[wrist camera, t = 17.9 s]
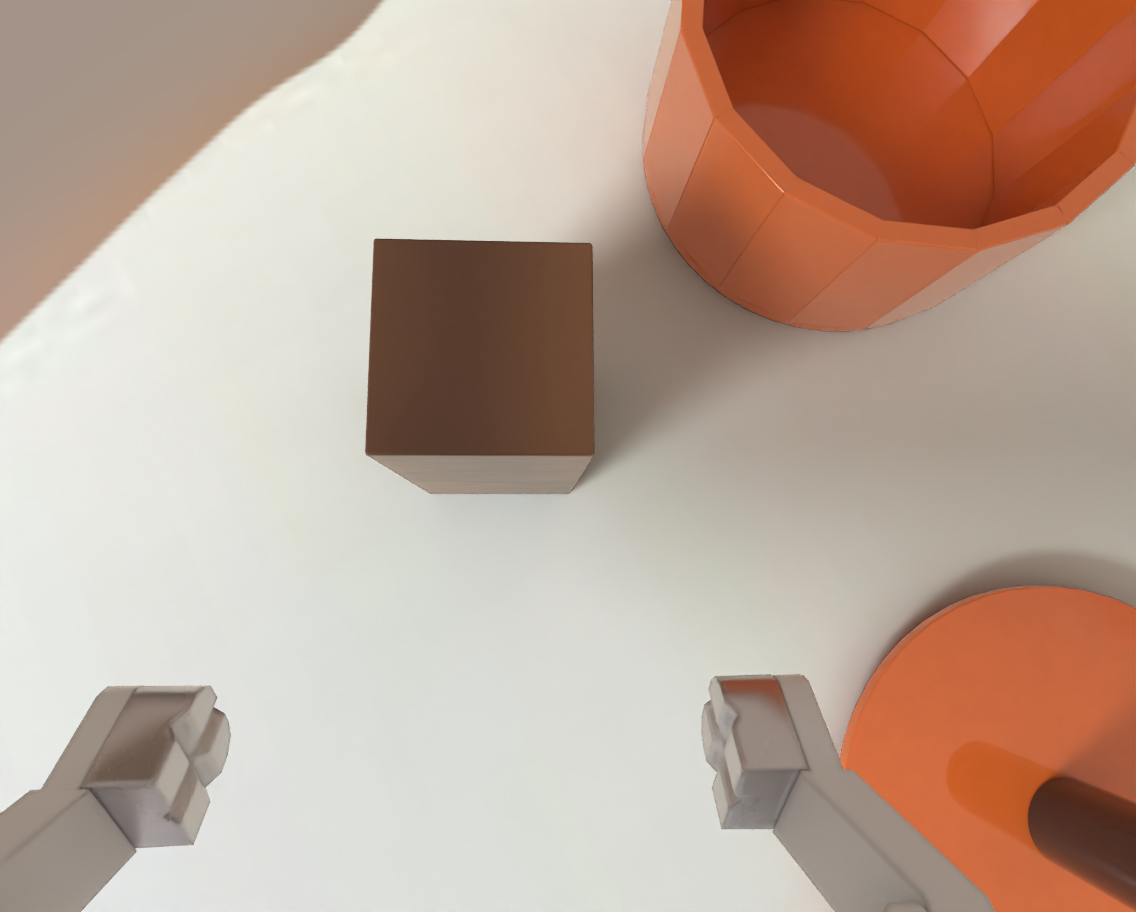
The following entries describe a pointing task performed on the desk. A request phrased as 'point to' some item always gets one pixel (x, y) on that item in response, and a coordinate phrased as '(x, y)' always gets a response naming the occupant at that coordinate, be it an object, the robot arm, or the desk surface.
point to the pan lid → (1013, 744)
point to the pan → (881, 143)
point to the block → (482, 364)
